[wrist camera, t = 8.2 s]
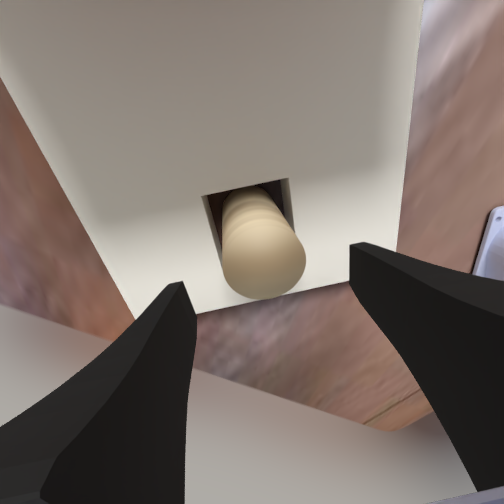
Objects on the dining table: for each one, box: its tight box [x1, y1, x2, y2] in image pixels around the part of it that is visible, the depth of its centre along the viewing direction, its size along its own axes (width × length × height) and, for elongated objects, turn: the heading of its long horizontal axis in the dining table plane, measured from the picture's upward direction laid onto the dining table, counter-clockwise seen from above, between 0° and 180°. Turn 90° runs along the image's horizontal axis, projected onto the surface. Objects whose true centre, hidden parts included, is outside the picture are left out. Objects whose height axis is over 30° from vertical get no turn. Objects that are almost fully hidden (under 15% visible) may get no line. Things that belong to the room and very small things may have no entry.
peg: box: [222, 185, 306, 300], centre depth 15 cm, size 4×4×8 cm
